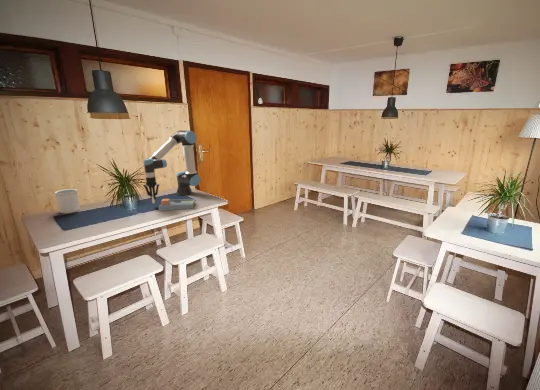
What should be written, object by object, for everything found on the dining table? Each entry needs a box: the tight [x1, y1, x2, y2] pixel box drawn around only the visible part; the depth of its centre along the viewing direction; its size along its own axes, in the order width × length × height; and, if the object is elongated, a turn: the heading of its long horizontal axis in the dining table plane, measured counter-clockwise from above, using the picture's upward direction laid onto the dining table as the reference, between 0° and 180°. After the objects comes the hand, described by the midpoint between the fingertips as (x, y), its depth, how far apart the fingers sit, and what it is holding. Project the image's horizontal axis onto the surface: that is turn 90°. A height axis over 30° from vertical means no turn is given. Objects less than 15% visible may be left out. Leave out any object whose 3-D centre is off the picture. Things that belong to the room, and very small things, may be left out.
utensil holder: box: [54, 188, 81, 214], centre depth 219 cm, size 15×15×18 cm
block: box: [160, 198, 171, 205], centre depth 231 cm, size 6×6×4 cm
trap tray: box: [158, 198, 196, 211], centre depth 233 cm, size 16×28×4 cm, turn 97°
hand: (153, 202), depth 230 cm, fingers closed
